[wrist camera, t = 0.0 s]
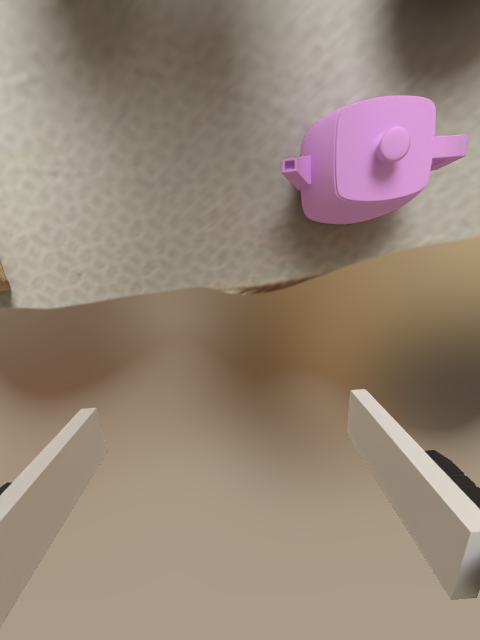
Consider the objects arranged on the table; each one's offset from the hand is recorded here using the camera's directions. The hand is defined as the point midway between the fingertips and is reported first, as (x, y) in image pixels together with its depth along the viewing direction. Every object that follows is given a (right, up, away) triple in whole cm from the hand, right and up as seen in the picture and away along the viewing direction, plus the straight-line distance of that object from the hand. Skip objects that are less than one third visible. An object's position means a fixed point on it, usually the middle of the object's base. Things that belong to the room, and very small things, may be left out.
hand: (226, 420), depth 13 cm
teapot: (+15, +25, +23) cm, 37 cm away
